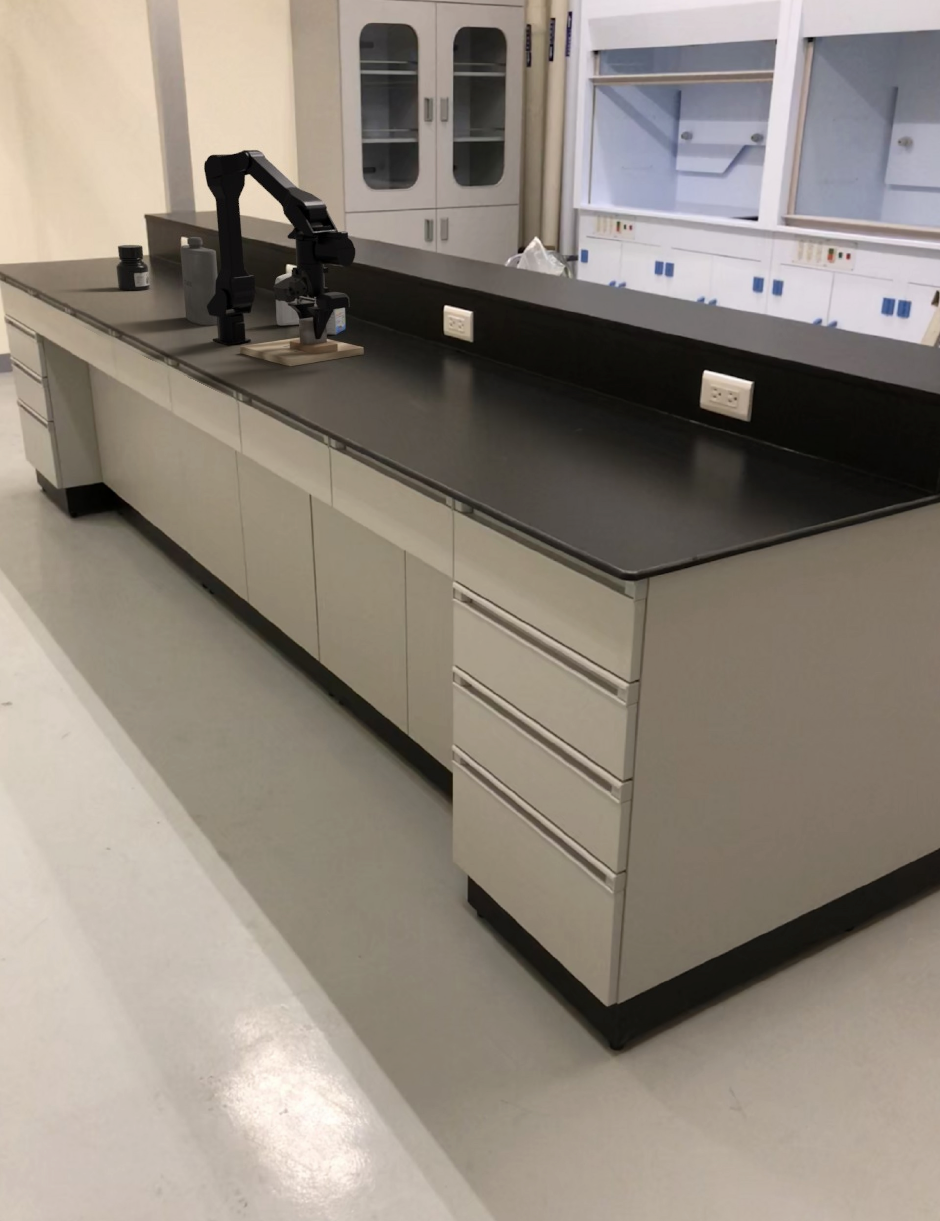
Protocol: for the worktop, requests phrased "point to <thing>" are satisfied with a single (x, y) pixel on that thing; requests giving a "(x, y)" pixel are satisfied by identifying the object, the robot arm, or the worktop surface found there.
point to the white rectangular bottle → (285, 308)
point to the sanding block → (312, 339)
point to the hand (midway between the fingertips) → (313, 337)
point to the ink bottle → (132, 268)
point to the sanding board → (297, 352)
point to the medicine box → (336, 322)
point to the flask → (198, 280)
